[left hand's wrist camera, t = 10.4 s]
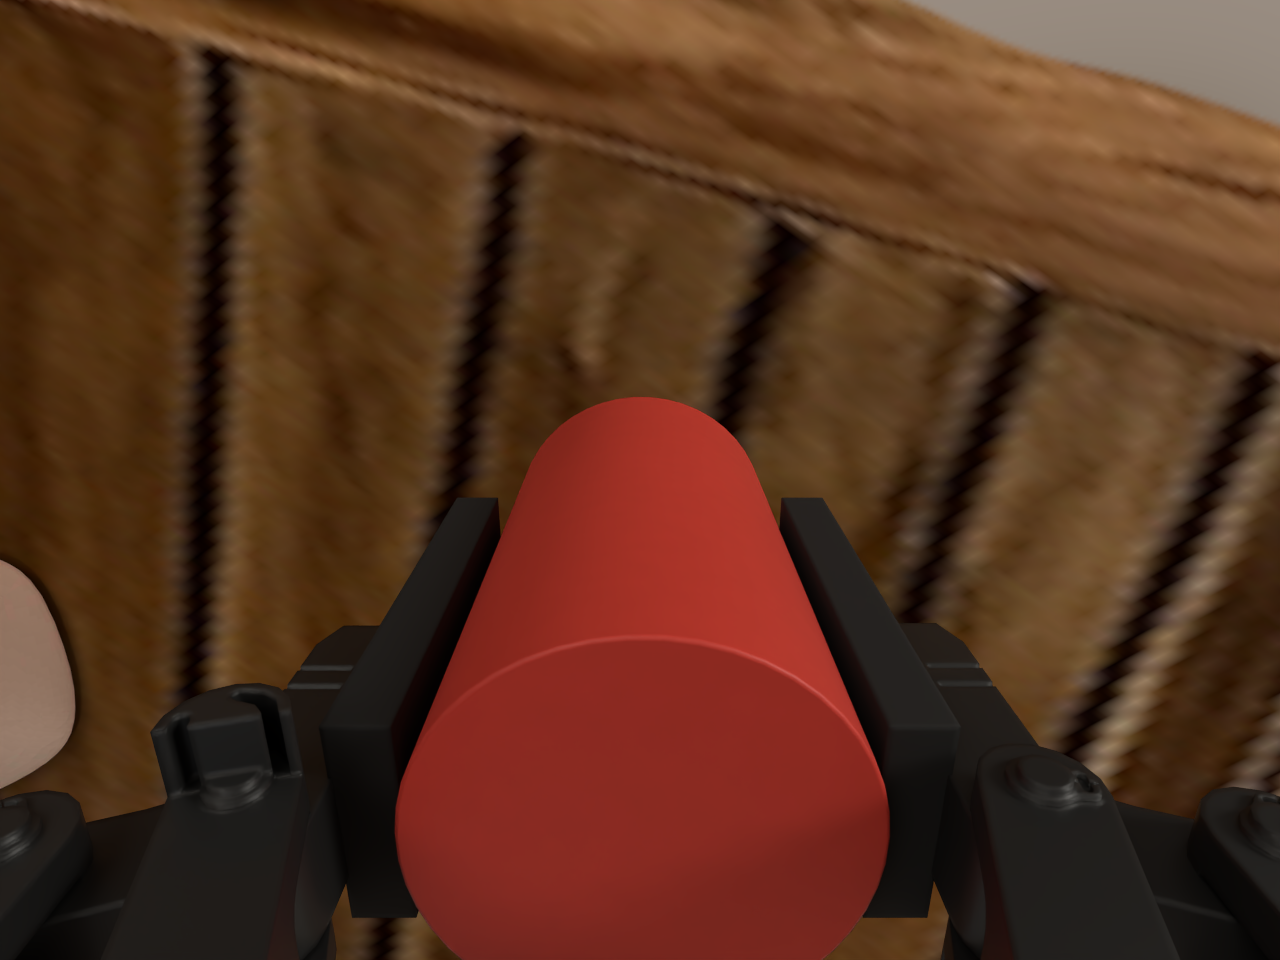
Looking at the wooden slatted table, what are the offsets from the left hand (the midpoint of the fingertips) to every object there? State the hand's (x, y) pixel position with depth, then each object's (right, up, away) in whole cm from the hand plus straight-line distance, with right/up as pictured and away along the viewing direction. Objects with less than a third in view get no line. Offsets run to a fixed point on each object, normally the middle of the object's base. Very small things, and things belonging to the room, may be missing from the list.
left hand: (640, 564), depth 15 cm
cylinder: (0, +1, +2) cm, 2 cm away
